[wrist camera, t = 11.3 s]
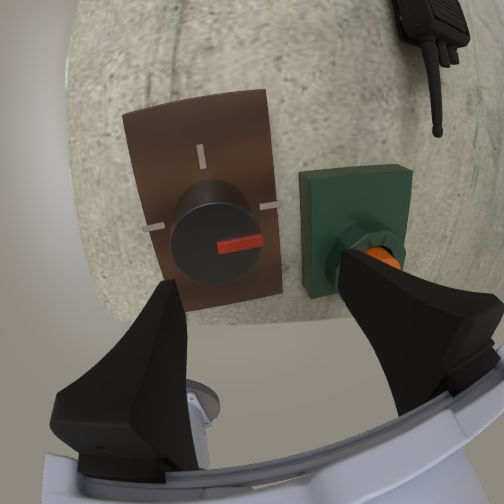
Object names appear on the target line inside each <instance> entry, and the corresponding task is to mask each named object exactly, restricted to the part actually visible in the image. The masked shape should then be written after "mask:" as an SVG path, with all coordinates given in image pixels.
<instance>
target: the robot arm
mask: <svg viewBox="0 0 504 504" xmlns="http://www.w3.org/2000/svg"><path fill="white" fill-rule="evenodd" d="M337 288H338V290H339V292H340V294H341V296H342V298H343V300H344V302H345V304H346V306H347V308H348V309H349V311H350V312H351V314H352V315H353V317H354V318H355V320H356V321H357V323H358V325H359V326H360V327H361V329H362V330H363V332H364V334H365V335H366V337H367V338H368V340H369V342H370V343H371V345H372V347H373V349H374V351H375V353H376V355H377V357H378V359H379V361H380V363H381V366H382V368H383V371H384V373H385V376H386V378H387V381H388V383H389V386H390V389H391V392H392V395H393V398H394V401H395V405H396V408H397V412H398V416H399V417H398V418H396V419H393V420H391V421H389V422H387V423H385V424H382V425H381V426H378V427H376V428H373V429H371V430H369V431H366V432H364V433H361V434H358V435H356V436H353V437H351V438H348V439H345V440H342V441H339V442H336V443H334V444H330V445H327V446H324V447H321V448H318V449H315V450H311V451H308V452H304V453H301V454H296V455H292V456H288V457H284V458H280V459H275V460H271V461H266V462H261V463H255V464H249V465H243V466H237V467H230V468H221V469H211V470H208V468H209V455H208V448H207V439H206V431H205V428H208V427H211V426H212V423H211V421H210V420H209V418H208V416H207V414H206V413H205V411H204V409H203V407H202V406H201V404H200V402H199V400H198V398H197V397H196V395H195V393H193V392H187V391H186V364H187V363H186V361H187V324H186V315H185V312H184V308H183V305H182V302H181V298H180V295H179V292H178V288H177V285H176V281H175V279H171V280H165V281H160V283H159V284H158V286H157V287H156V289H155V291H154V292H153V294H152V296H151V297H150V299H149V300H148V302H147V304H146V305H145V307H144V308H143V310H142V311H141V313H140V314H139V316H138V317H137V319H136V320H135V321H134V323H133V324H132V326H131V327H130V328H129V330H128V331H127V332H126V333H125V335H124V336H123V338H121V339H120V341H119V342H118V343H117V344H116V345H115V346H114V347H113V348H112V349H111V350H110V351H109V352H108V354H106V355H105V356H104V357H103V358H102V359H101V360H100V361H99V362H98V363H97V364H96V365H95V366H94V367H92V368H91V369H90V370H89V371H88V372H86V373H85V374H84V375H83V376H82V377H80V378H79V379H77V380H76V381H75V382H73V383H72V384H70V385H69V386H67V387H66V388H64V389H63V390H61V391H60V392H58V393H57V395H56V399H55V402H54V407H53V411H52V415H51V420H50V429H51V430H52V432H53V433H54V434H55V435H56V436H57V437H58V438H59V439H60V440H62V441H63V442H64V443H66V444H67V445H68V446H70V447H71V448H73V449H74V450H75V451H77V452H78V453H79V458H78V460H76V459H74V458H71V457H67V456H61V455H56V454H52V453H47V454H46V458H45V466H44V475H43V484H42V497H41V504H489V501H488V499H487V497H486V495H485V493H484V491H483V489H482V486H481V484H480V483H479V481H478V478H477V477H476V474H475V473H474V471H473V469H472V467H471V465H470V463H469V461H468V459H467V457H466V456H465V454H464V452H463V450H462V449H461V447H463V446H464V445H465V444H466V443H468V442H469V441H471V440H472V439H473V438H474V437H475V436H477V435H478V434H479V433H480V432H481V431H483V430H484V429H485V428H486V427H487V426H488V425H489V424H491V423H492V422H493V421H494V420H495V419H496V418H497V417H498V416H499V415H500V414H501V413H502V412H503V411H504V344H502V345H501V346H500V347H499V348H498V349H497V350H496V351H495V350H494V349H493V348H492V346H494V344H495V343H494V341H493V340H492V339H491V337H492V335H493V333H494V331H495V330H496V328H497V326H498V324H499V323H500V320H501V318H502V316H503V313H504V303H503V302H502V301H500V300H499V299H498V298H497V297H496V296H495V295H494V294H489V293H478V292H470V291H464V290H459V289H454V288H450V287H446V286H442V285H439V284H435V283H432V282H429V281H426V280H424V279H421V278H418V277H415V276H413V275H411V274H408V273H406V272H404V271H401V270H399V269H397V268H395V267H393V266H391V265H389V264H387V263H385V262H383V261H381V260H379V259H376V258H374V257H372V256H370V255H368V254H366V253H364V252H362V251H360V250H357V249H354V248H351V249H345V250H341V259H340V269H339V278H338V286H337ZM313 472H314V473H313ZM310 473H311V474H310ZM306 474H308V475H306ZM302 475H305V476H302ZM299 476H302V477H300V478H296V479H293V480H289V481H286V482H283V483H279V484H276V485H271V486H267V487H264V488H259V489H255V490H253V488H251V487H252V486H257V485H263V484H268V483H273V482H278V481H282V480H286V479H291V478H295V477H299Z"/></svg>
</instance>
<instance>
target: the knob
mask: <svg viewBox="0 0 504 504" xmlns="http://www.w3.org/2000/svg"><path fill="white" fill-rule="evenodd" d="M262 246H263V238H262V234H261V230H260V227H259V225H258V223H257V221H256V219H255V217H254V215H253V213H252V211H251V209H250V207H249V206H248V204H247V202H246V200H245V198H244V196H243V195H242V193H241V192H240V191H239V190H238V189H237V188H236V187H234V186H233V185H231V184H229V183H227V182H224V181H219V180H206V181H202V182H199V183H196V184H194V185H193V186H191V187H190V188H188V189H187V190H186V191H185V192H184V193H183V194H182V196H181V197H180V199H179V200H178V203H177V205H176V209H175V214H174V219H173V225H172V230H171V236H170V252H171V256H172V259H173V261H174V263H175V265H176V266H177V267H178V269H179V270H180V271H181V272H182V273H183V274H184V275H186V276H187V277H188V278H190V279H192V280H194V281H196V282H199V283H203V284H209V285H220V284H226V283H229V282H232V281H235V280H237V279H239V278H241V277H242V276H244V275H245V274H246V273H248V272H249V271H250V270H251V269H252V268H253V266H254V265H255V263H256V262H257V260H258V258H259V256H260V253H261V249H262Z"/></svg>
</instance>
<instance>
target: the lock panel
mask: <svg viewBox="0 0 504 504" xmlns="http://www.w3.org/2000/svg"><path fill="white" fill-rule="evenodd" d="M122 118H123V123H124V129H125V134H126V139H127V144H128V149H129V154H130V158H131V163H132V167H133V172H134V176H135V180H136V184H137V189H138V193H139V196H140V200H141V204H142V208H143V212H144V215H145V219H146V223H147V226H142V229H143V232H148V231H149V233H150V236H151V240H152V243H153V246H154V250H155V253H156V256H157V259H158V262H159V265H160V268H161V272H162V275H163V278H164V280H171V279H175V281H176V285H177V288H178V292H179V295H180V298H181V302H182V305H183V308H184V312H188V311H194V310H200V309H205V308H211V307H216V306H222V305H227V304H232V303H237V302H242V301H247V300H252V299H257V298H262V297H267V296H272V295H276V294H281V293H283V290H282V273H281V257H280V242H279V228H278V215H277V207H282V201H276V190H275V178H274V166H273V155H272V145H271V135H270V125H269V115H268V106H267V97H266V89H257V90H246V91H237V92H228V93H221V94H214V95H207V96H201V97H195V98H190V99H184V100H179V101H174V102H170V103H165V104H161V105H156V106H152V107H148V108H144V109H140V110H137V111H133V112H129V113H126V114H123V115H122ZM206 180H219V181H224V182H227V183H229V184H231V185H233V186H234V187H236V188H237V189H238V190H239V191H240V192H241V193H242V195H243V196H244V198H245V200H246V202H247V204H248V206H249V207H250V209H251V211H252V213H253V215H254V217H255V219H256V221H257V223H258V225H259V227H260V230H261V234H262V238H263V246H262V249H261V253H260V256H259V258H258V260H257V262H256V263H255V265H254V266H253V268H252V269H251V270H250V271H249V272H248V273H246V274H245V275H244V276H242V277H241V278H239V279H237V280H235V281H232V282H229V283H226V284H220V285H209V284H203V283H199V282H196V281H194V280H192V279H190V278H188V277H187V276H186V275H184V274H183V273H182V272H181V271H180V270H179V269H178V267H177V266H176V265H175V263H174V261H173V259H172V256H171V252H170V236H171V230H172V225H173V219H174V214H175V209H176V205H177V203H178V200H179V199H180V197H181V196H182V194H183V193H184V192H185V191H186V190H187V189H188V188H190V187H191V186H193V185H194V184H196V183H199V182H202V181H206Z"/></svg>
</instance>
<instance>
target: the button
mask: <svg viewBox="0 0 504 504" xmlns="http://www.w3.org/2000/svg"><path fill="white" fill-rule="evenodd" d="M364 253H366V254H368V255H370V256H372V257H374V258H376V259H379V260H381V261H383V262H385V263H387V264H389V265H391V266H393V267H395V268H397V269H399V270H401V269H400V264H399V263H398V261H397V260H396V259H395V258H394V257H392V256H391V255H390V254H389V253H388V252H387V251H386V250H385V249H383V248H380V247H374V248H370V249H368V250H367V251H365V252H364Z"/></svg>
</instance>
